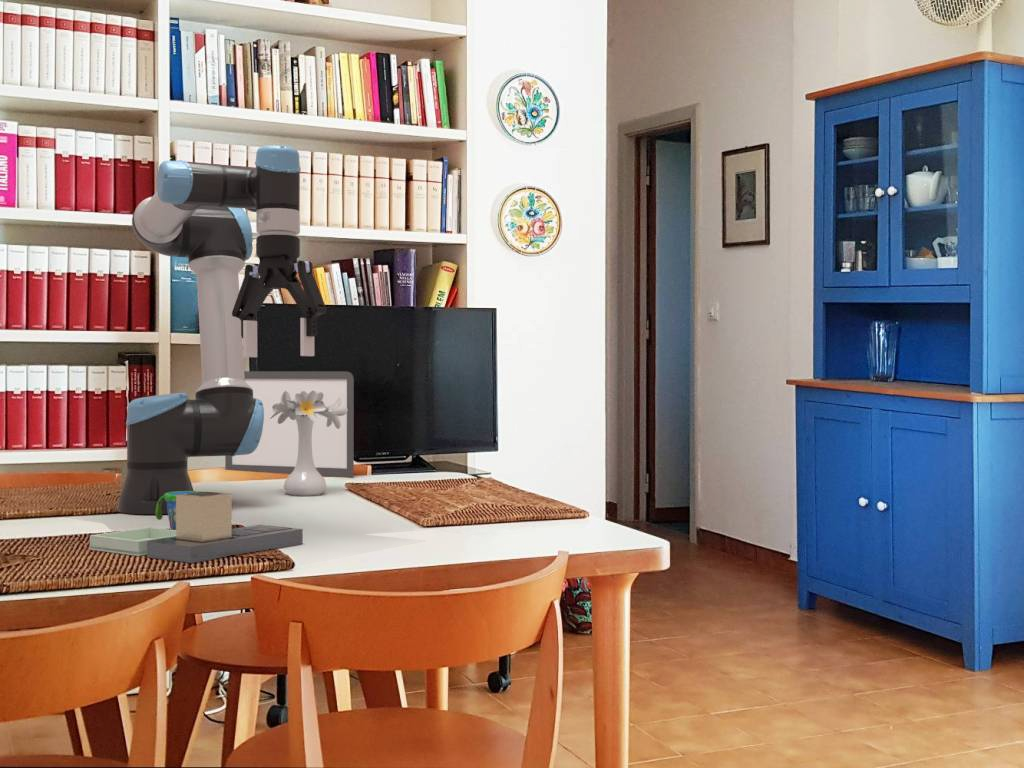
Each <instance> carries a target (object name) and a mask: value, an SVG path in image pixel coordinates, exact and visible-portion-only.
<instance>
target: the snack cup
mask: <svg viewBox="0 0 1024 768" xmlns="http://www.w3.org/2000/svg"><path fill="white" fill-rule="evenodd" d="M197 492H203V491H199V490H198V491H197V490H193V491H176V492H168V493H165V495H164V496H162V497H161V498H160V499H159V500H158V503H157V506H156V514H155V517H156V519H157V520H158V521H161V520H162V519H163V514H162V511H161V505H162V502H163V499H165V500H166V502H167V509H168V514H167V516H168V522H169V530H176V495H179V494H188V493H197Z"/></svg>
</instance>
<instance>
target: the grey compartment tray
mask: <svg viewBox="0 0 1024 768" xmlns="http://www.w3.org/2000/svg"><path fill="white" fill-rule="evenodd" d="M303 536H304V535H303V529H302V528H296V527H295V528H294V527H287V526H276V525H266V524H257V525H250V526H249V525H248V526H241V527H234V528H232V539H226V540H220V541H213V542H207V543H195V542H187V541H179V540H176V537H173V538H166V539H159V540H152V541H147V555H146V557H147V558H151V559H157V560H164V561H165V560H166V561H172V562H173V561H174V562H180V563H186V564H187V563H188V564H194V563H200V562H207V561H211V560H216V558H218V559H222V558H221V557H224V558H227V557H226V556H230V555H236V556H238V555H237V554H242V553H247V554H249V553H248V552H253V553H256V552H255V551H259V552H263V551H262V550H265V551H269V549H271V550H275V549H280V548H281V549H282V548H287V547H293V546H294V547H295V546H298V545H303ZM242 555H243V554H242ZM230 557H231V556H230Z"/></svg>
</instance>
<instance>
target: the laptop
mask: <svg viewBox="0 0 1024 768" xmlns="http://www.w3.org/2000/svg"><path fill="white" fill-rule="evenodd" d="M244 375H245V382H246V383H247V384H248V385H249V386H250V387H251V388H252V389H253V398H257V399H259V400H261V401H262V403H263V408H264V423H263V430H262V435H261V439H260V442H259V444H258V447H257V448H256V450H255V451H254V452H252V453H251V454H247V455H235V456H234V457H231V456H224V457H225V458H224V459H225V461H224V463H225V470H226V471H237V472H251V473H252V472H254V473H255V472H256V473H269V474H283V475H290V474H291V473H292V472H293V470H294V468H295V466H296V463H297V458H298V439H299V436H298V426H297V421H296V419H295V420H291V419H290V418H289V417H288V418H287V419H286V420H285V421H284V422H283V423H281V424H279V423H278V418H279V416H280V415H281V414H282V413H283V412H281V413H279V414H277V415H276V416H274V417H273V418H272V419H270V418H271V417H272V415H273V414H274V413H275V412H274V413H273V408H272V406H273V405H274V404H276V403H280V402H281V396H282V394H283V392H285V390H286V391H287V392H288V393H289V395H290V398H291V401H293V400H294V399H295V394H297V393H298V394H301V392H302V391H305V392H307V393H308V394H309V393H310V392H311V391H313V390H314V391H316V393H319V392H322V393H323V399H322V401H323V402H324V405H325V406H326V407H328V406H329V405H332V406H333V405H334V403H335V402H336V401H337V399H338V398H340V397H341V398H342V401H341V404H340V406H339V407H337V408H340V407H345V408H347V409H348V411H347V413H346V414H345V415H343V416H337V417H338V418H339V419H340V423H341V425H340V428H339V429H337V428H336V427H335V425H334V423H333V422H332V423H331V425H330V426H329V427H327V425H326V424H327V418H326V417H325V416H322V415H319V414H317V413H316V415H317V421H316V422H313V428H312V455H313V462H314V465H315V467H316V469H317V471H318V472H319V474H320V475H321V476H322V477H329V478H331V477H332V478H344V479H345V478H347V479H354V477H355V476H354V475H355V473H354V471H355V469H354V465H355V464H354V461H355V459H354V455H355V453H354V451H355V450H354V447H355V443H354V442H355V441H354V439H355V438H354V437H355V436H354V435H355V434H354V433H355V432H354V431H355V430H354V427H355V426H354V424H355V423H354V421H355V419H354V418H355V417H354V416H355V413H354V412H355V409H354V408H355V407H354V398H355V395H354V394H355V393H354V391H355V388H354V387H355V383H354V382H355V378H354V374H352V373H351V372H349V371H345V370H344V371H343V370H342V371H341V370H340V371H332V370H331V371H326V370H325V371H320V370H319V371H318V370H317V371H316V370H315V371H314V370H312V371H310V370H309V371H292V370H291V371H286V370H285V371H279V370H278V371H276V370H275V371H274V370H273V371H271V370H270V371H268V370H266V371H264V370H262V371H260V370H259V371H258V370H255V371H254V370H251V371H247V370H246V371H245V370H244ZM327 413H328V412H327ZM304 415H306V414H304ZM269 419H270V420H269ZM331 421H332V420H331Z"/></svg>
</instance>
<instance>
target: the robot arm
mask: <svg viewBox="0 0 1024 768" xmlns="http://www.w3.org/2000/svg"><path fill="white" fill-rule="evenodd" d="M254 164H255V167H253V166H242V165H240V166H239V165H227V164H217V163H204V162H195V161H186V160H182V159H180V160H164V161H161V163H160V164H159V166H158V170H157V176H156V192H155V194H153V195H152V196H149V197H147V198H145V199H143V200H142V201H141V202H140V203H138V205H137V206H136V208H135V209H134V211H133V213H132V216H131V217H132V218H131V227H132V230H133V232H134V235H135V236H136V238H137V239H138V240H139V242H141V243H142V245H144V246H145V247H146V248H148V249H149V250H151V251H153V252H154V253H157V254H160V255H163V256H167V257H174V258H176V257H177V258H186V259H187V260H188V268H189V270H191V271H192V272H193V273H195V275H196V284H197V285H196V288H197V290H196V291H197V304H198V307H197V309H198V326H199V341H200V343H199V344H200V346H199V347H200V362H201V380H202V383H201V385H200V386H199V388H198V389H197V390H196V391H195V399H189V396H188V394H187V393H186V392H177V393H176V392H175V393H166V394H156V395H151V396H144V397H143V396H142V397H139V398H134V399H132V400H131V401H130V402H129V404H128V406H127V413H126V414H127V415H126V422H125V426H126V475H125V478H124V481H123V484H122V488H121V491H120V495H119V497H118V499H117V512H118V513H121V514H126V515H127V514H128V515H129V514H131V515H156V506H157V503H158V500H159V499H160V498H161V497H162V496H164V495H165V493H168V492H176V491H194V487H193V485H192V481H191V478H190V475H189V470H188V458H192V457H193V458H199V457H223V456H224V457H225V456H231V457H234V456H235V455H247V454H251V453H252V452H254V451H255V450H256V448H257V447H258V444H259V442H260V439H261V435H262V430H263V423H264V408H263V403H262V401H261V400H259V399H257V398H253V389H252V388H251V387H250V386H249V385H248V384H247V383H246V382H245V375H244V371H245V363H244V361H245V360H244V359H245V358H258V321H257V319H256V318H255V317H256V315H257V314H258V312H259V310H260V309H261V307H262V306H263V304H264V302H265V300H266V299H267V297H268V295H269V294H270V293H271V292H273V290H280V289H283V290H284V289H285V290H287V292H288V293H289V294H290V296H291V298H292V299H293V301H294V302H295V304H296V306H297V307H298V308H299V310H300V312H301V313H302V315H301V317H300V322H299V323H300V326H299V327H300V329H299V330H300V338H299V339H300V340H299V341H300V342H299V343H300V357H315V337H317V335H318V318H319V317H320V316H321V315H323V314H324V315H325V314H326V313H327V311H328V309H327V306H326V303H325V301H324V299H323V296H322V294H321V291H320V288H319V286H318V283H317V281H316V278H315V275H314V270H313V263H312V262H311V261H306V260H301V259H300V260H298V259H299V258H300V255H301V239H300V238H299V236H298V235H300V233H301V221H300V220H301V219H300V218H301V214H300V200H301V199H300V198H301V197H300V196H301V194H300V193H301V192H300V190H301V189H300V186H301V184H300V183H301V182H300V180H301V179H300V177H301V169H302V168H301V165H300V154H299V152H298V150H297V149H296V148H294V147H291V146H288V145H279V144H278V145H277V144H276V145H270V144H269V145H264V146H260V147H259V148H257V150H256V155H255V162H254ZM244 209H245V210H244ZM246 210H247V211H249V212H252V213H256V215H255V216H256V221H255V223H256V227H255V228H256V229H255V230H256V231H255V232H256V233H257V234H258V235H257V237H256V245H255V246H256V247H255V248H256V251H255V252H256V253H255V254H256V256H257V258H258V259H259V263H258V265H255V264H246V261H248V260H249V259H250V258H251V257H252V253H253V249H254V248H253V247H254V246H253V242H254V238H253V237H254V236H253V231H252V225H251V221H250V219H249V215H248V214H247V212H246ZM243 269H244V274H243V275H244V277H243V279H242V283H241V286H240V280H239V273H240V272H241V271H242V270H243ZM297 275H298V277H299V278H298V277H297ZM161 511H162V515H165V514H167V515H168V509H167V502H166V500H165V499H163V502H162V505H161Z"/></svg>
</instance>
